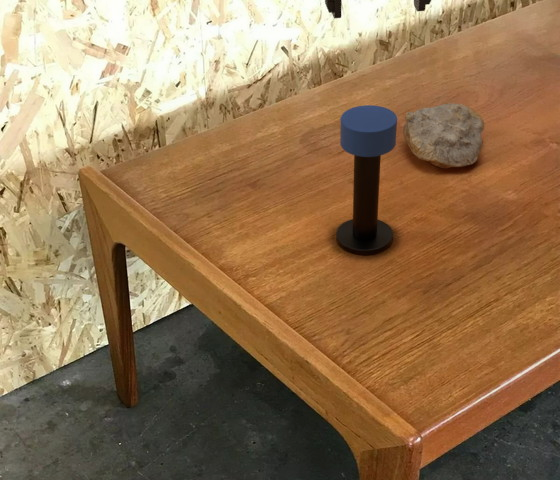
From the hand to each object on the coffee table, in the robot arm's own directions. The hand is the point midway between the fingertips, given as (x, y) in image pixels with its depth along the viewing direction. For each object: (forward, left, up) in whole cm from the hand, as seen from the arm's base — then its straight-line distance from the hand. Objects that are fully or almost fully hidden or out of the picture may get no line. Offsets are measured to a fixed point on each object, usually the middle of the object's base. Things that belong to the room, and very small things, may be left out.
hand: (378, 12), depth 80 cm
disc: (0, +1, -14) cm, 14 cm away
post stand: (0, +1, -27) cm, 27 cm away
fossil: (-10, -20, -27) cm, 35 cm away
